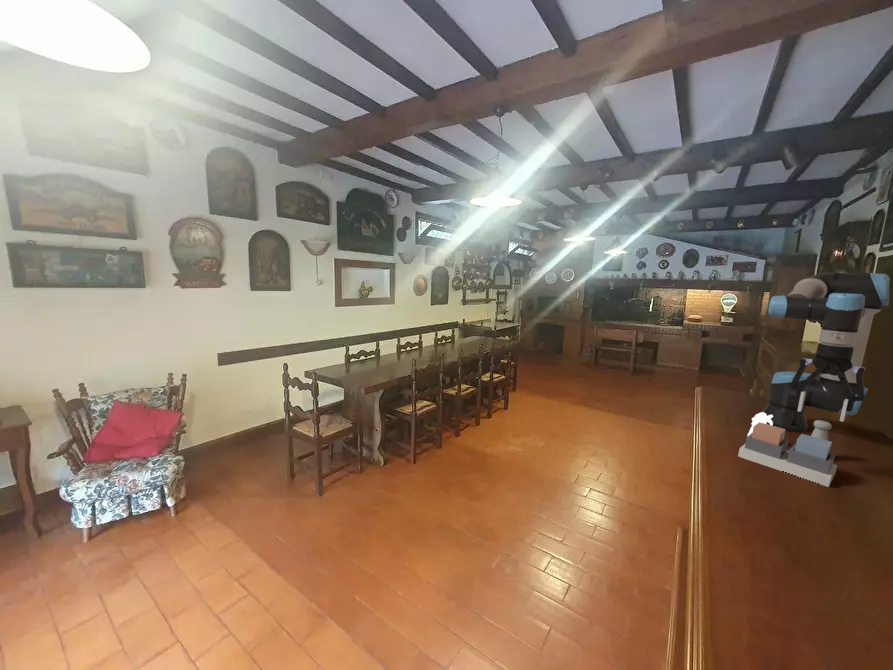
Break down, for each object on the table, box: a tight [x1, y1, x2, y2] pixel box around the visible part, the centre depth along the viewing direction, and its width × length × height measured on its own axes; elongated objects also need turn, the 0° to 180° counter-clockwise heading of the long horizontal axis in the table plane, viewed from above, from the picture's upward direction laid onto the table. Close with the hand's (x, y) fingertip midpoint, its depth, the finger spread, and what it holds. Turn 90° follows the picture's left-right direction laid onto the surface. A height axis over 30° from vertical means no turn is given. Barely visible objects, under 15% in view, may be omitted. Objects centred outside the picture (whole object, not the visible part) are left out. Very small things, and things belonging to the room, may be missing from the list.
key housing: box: [737, 433, 838, 488], centre depth 121 cm, size 13×22×7 cm, turn 37°
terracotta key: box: [751, 422, 787, 446], centre depth 124 cm, size 7×7×5 cm
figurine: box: [746, 411, 773, 437], centre depth 136 cm, size 7×7×12 cm
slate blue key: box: [795, 433, 833, 460], centre depth 115 cm, size 7×7×5 cm
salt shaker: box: [810, 419, 833, 441], centre depth 127 cm, size 6×6×13 cm
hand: (820, 415), depth 114 cm, fingers open, 9 cm apart
